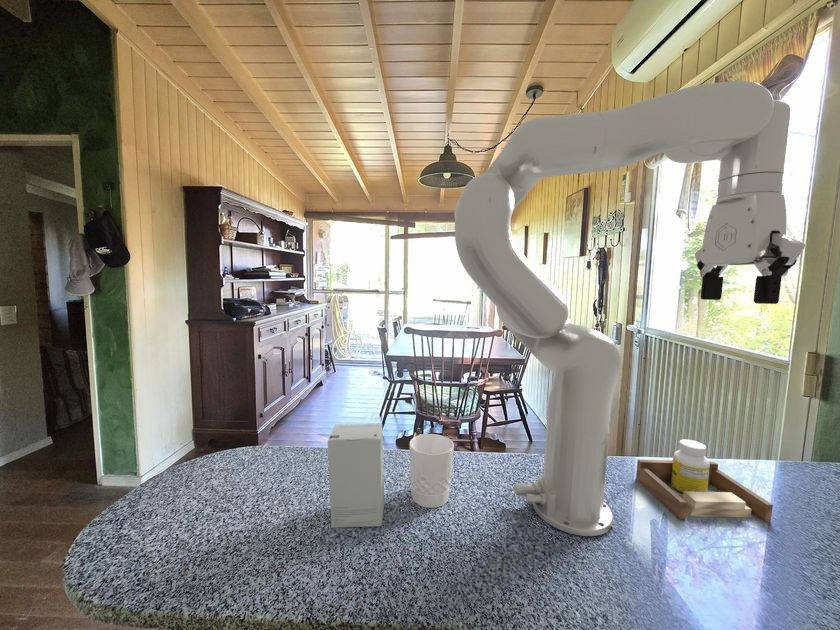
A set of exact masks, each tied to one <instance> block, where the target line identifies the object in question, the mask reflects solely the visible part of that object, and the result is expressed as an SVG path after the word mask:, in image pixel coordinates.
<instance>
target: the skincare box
mask: <svg viewBox="0 0 840 630" xmlns="http://www.w3.org/2000/svg"><path fill="white" fill-rule="evenodd" d="M383 435H384V433H383V423H381V422H380V423H356V424H355V423H354V424H351V423H349V424H334V426H333V428H332V430H331V433H330V435H329V438H328V439H327V456H328V457H327V459H328V479H329V480H328V482H329V500H330V501H329V504H330V526H331V528H335V529H336V528H361V527H362V528H365V527H366V528H367V527H368V528H369V527H382V525H383V519H384V508H385V477H384V476H385V472H384V439H383V438H384V436H383Z"/></svg>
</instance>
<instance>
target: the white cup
mask: <svg viewBox="0 0 840 630" xmlns="http://www.w3.org/2000/svg"><path fill="white" fill-rule="evenodd" d="M408 445H409V446H408V447H409V472H410V478H409V479H410V490H411V492H410V493H411V498H412V500H413V502H414V503H416V505H418V506H420V507H423V508H426V509H428V508H430V509H433V508H434V509H436V508H440V507H443V506H444V505H445V504H447V503H448V502H449V499H450V498H449V497H450V487H451V483H452V475H453V464H454V463H453V462H454V451H455V450H454V449H455V443H454V441H453V440H452V439H450V438H449V437H447V436H444V435H442V434H441V435H440V434H434V433H426V434H419V435H416V436H414V437H412V438H411V439H410V441H409V444H408Z"/></svg>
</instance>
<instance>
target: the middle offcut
mask: <svg viewBox="0 0 840 630" xmlns="http://www.w3.org/2000/svg"><path fill="white" fill-rule="evenodd" d="M680 497H681V498H683V496H680ZM686 502H687V501H686ZM751 510H752V509H751V508H749V507H748V506H745V510H734V509H695V508H694V507H692V506H691V505H690V504H689V503H688V502H687V508H686V511H687V512H688V513H690V514H691V515H712V516H752V513H751Z"/></svg>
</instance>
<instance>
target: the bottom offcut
mask: <svg viewBox="0 0 840 630" xmlns="http://www.w3.org/2000/svg"><path fill="white" fill-rule="evenodd" d="M686 517H707V518H709V517H713V518H714V517H716V518H719V517H720V518H721V517H722V518H723V517H724V518H752V517H753V516H752V515H751V516H712V515H691V514H690V513H688V512H687V511H686Z"/></svg>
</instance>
